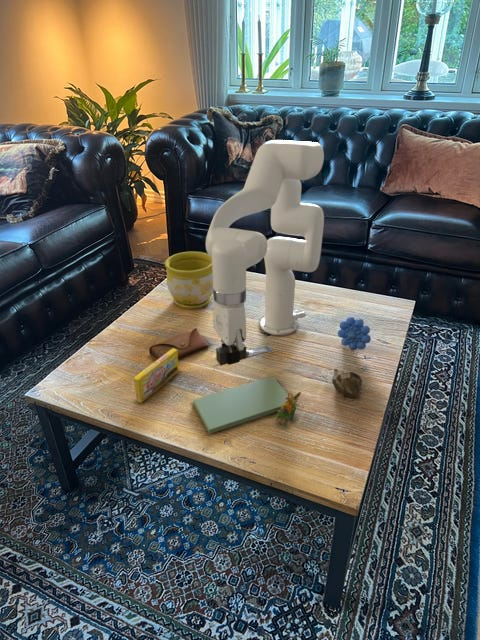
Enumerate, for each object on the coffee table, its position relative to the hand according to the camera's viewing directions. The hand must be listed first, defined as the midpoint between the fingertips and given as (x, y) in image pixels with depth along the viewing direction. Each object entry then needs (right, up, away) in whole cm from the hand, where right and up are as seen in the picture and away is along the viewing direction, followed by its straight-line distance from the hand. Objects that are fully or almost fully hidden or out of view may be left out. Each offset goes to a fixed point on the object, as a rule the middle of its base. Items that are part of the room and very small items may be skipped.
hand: (230, 358), depth 110 cm
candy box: (-21, -9, +14) cm, 27 cm away
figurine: (+15, -16, +3) cm, 22 cm away
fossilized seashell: (+32, -10, +13) cm, 35 cm away
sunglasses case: (-16, 0, +29) cm, 34 cm away
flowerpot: (-16, +17, +57) cm, 61 cm away
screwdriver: (+4, +1, +2) cm, 4 cm away
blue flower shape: (+38, 0, +29) cm, 48 cm away
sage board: (+3, -13, +8) cm, 15 cm away
